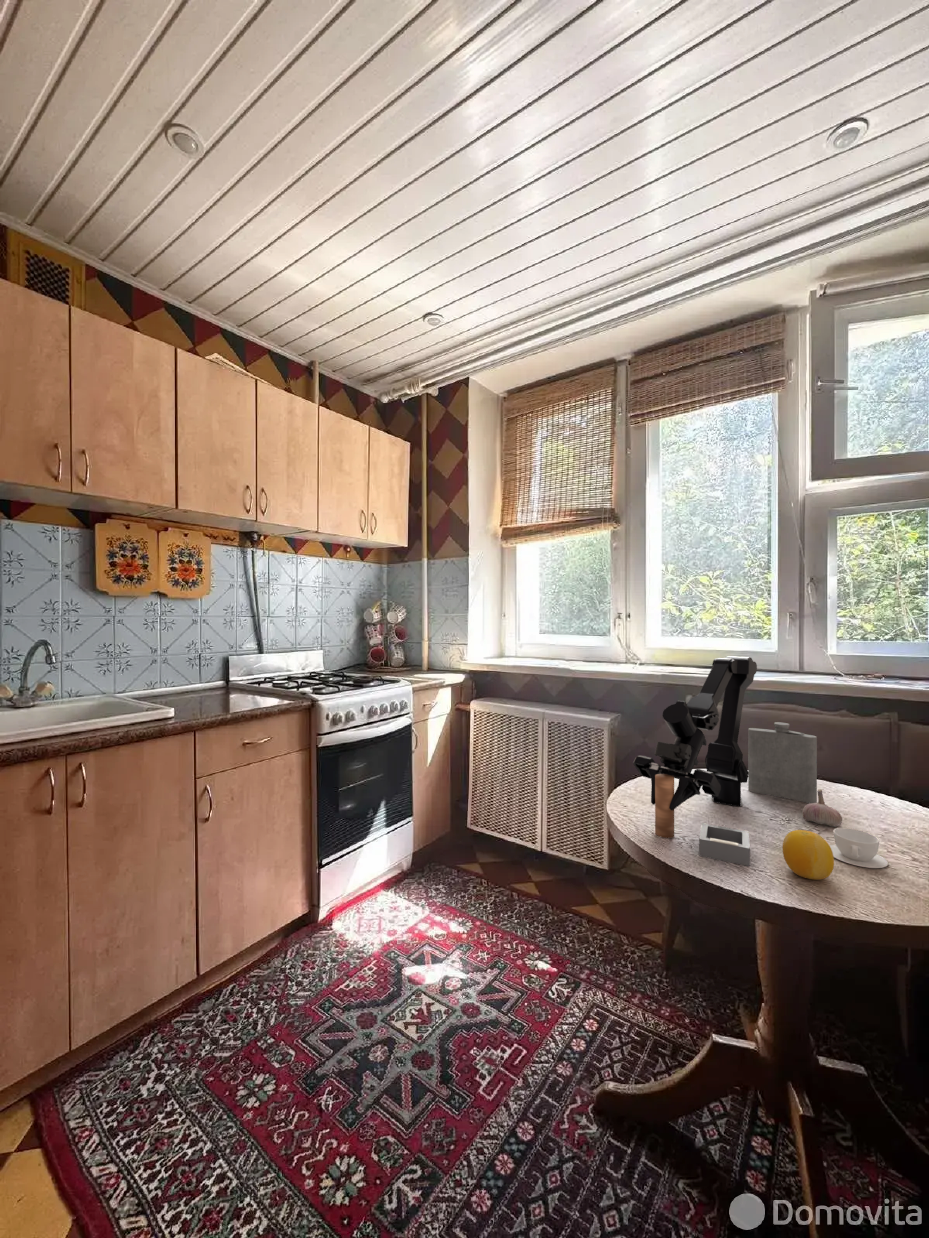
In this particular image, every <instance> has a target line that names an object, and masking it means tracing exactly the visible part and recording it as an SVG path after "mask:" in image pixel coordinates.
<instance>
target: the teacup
mask: <svg viewBox="0 0 929 1238" xmlns="http://www.w3.org/2000/svg"><path fill="white" fill-rule="evenodd" d="M832 832H833V839H834V843H835V844H830V845H829V846H830V847H831V850H832V852H833V856H834V859H837V860H838V861H841V862H844V863H847V864H850V865H853V866H858V867H861V868H862V867H863V868H869V869H881V868H882V869H883V868H885V867H887V866H888V865H889V862H888V860H887V859H886V858H885V857H883V856H881V855H880V854H878V852H879V847H880V839H879V838H878V837H877V836H876V835H874V834H872V833H869V832H868V831H864V830H860V829H856V828H850V827H837V828H836V827H835V828H834V829H833V831H832Z"/></svg>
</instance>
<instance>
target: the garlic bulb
mask: <svg viewBox="0 0 929 1238" xmlns="http://www.w3.org/2000/svg"><path fill="white" fill-rule="evenodd" d="M823 795H824V794H823V789H821V788H819V789H817V803H807V804H805V806H803V809H802V818H803V819H804V820H805V821H807V822H810V823H811V822H814V823H816V824H818V825H825V826H829V827H835V828H836V827H838V826H839V825H841V824H842V823H843V816H842V815H841V814H840V812H839V811H838V810H837V809H835V808H833V807H831V806H829V805H827V804H826V803H825V799H824V796H823Z"/></svg>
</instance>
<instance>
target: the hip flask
mask: <svg viewBox="0 0 929 1238" xmlns="http://www.w3.org/2000/svg"><path fill="white" fill-rule="evenodd" d="M773 726H774V729H766V728H755V727H749V728H747V729H748V732H747V733H748V734H747V735H748V736H747V737H748V742H747V744H748V745H747V747H748V749H747V750H748V751H747V753H748V754H747V757H748V760H747V761H748V762H747V764H748V765H747V767H748V768H747V770H748V772H749V773H748V780H747V783H748V788H747V789H748V791H749V792H750V791H751V793H756V794H761V795H766V794H767V795H768V796H773V797H779V798H783V797H784V799H789V800H794V801H797V802H801V803H807V804H810V803H818V792H817V791H818V780H817V779H818V776H817V775H818V768H817V766H818V761H817V760H818V759H817V758H818V749H817V748H818V738H817V737H818V736H815V735H812V734H805V733H804V732H799V731H794V730H790V729H789V728H790V723H786V722H780V721H777V722H776V721H775V722H774V723H773Z"/></svg>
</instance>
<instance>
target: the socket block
mask: <svg viewBox="0 0 929 1238" xmlns="http://www.w3.org/2000/svg"><path fill="white" fill-rule="evenodd" d="M699 832H700V833H699V837H698V846H699V849H698V851H699V852H698V854H699V856H700V857H702V858H708V859H713V860H717V861H722V862H728V863H732V864H735V865H736V864H738V865H742V866H744V867H745V866H746V867H750V866H751V847H750V844H751V843H750V842H751V841H750V831H748V830H743V829H737V828H731V827H727V826H721V825H715V824H710V823H704V822H702V823H701V826H700V831H699Z"/></svg>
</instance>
